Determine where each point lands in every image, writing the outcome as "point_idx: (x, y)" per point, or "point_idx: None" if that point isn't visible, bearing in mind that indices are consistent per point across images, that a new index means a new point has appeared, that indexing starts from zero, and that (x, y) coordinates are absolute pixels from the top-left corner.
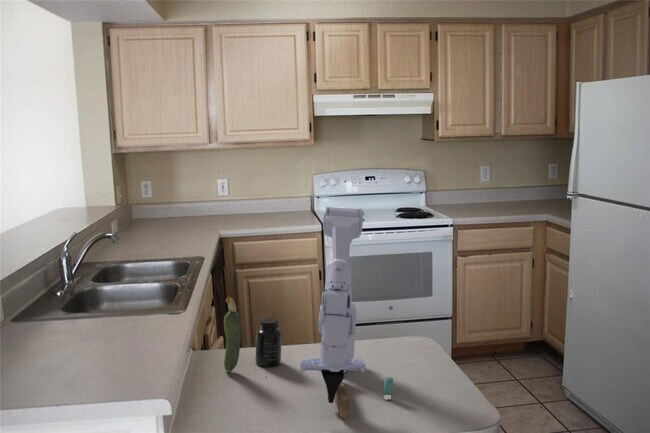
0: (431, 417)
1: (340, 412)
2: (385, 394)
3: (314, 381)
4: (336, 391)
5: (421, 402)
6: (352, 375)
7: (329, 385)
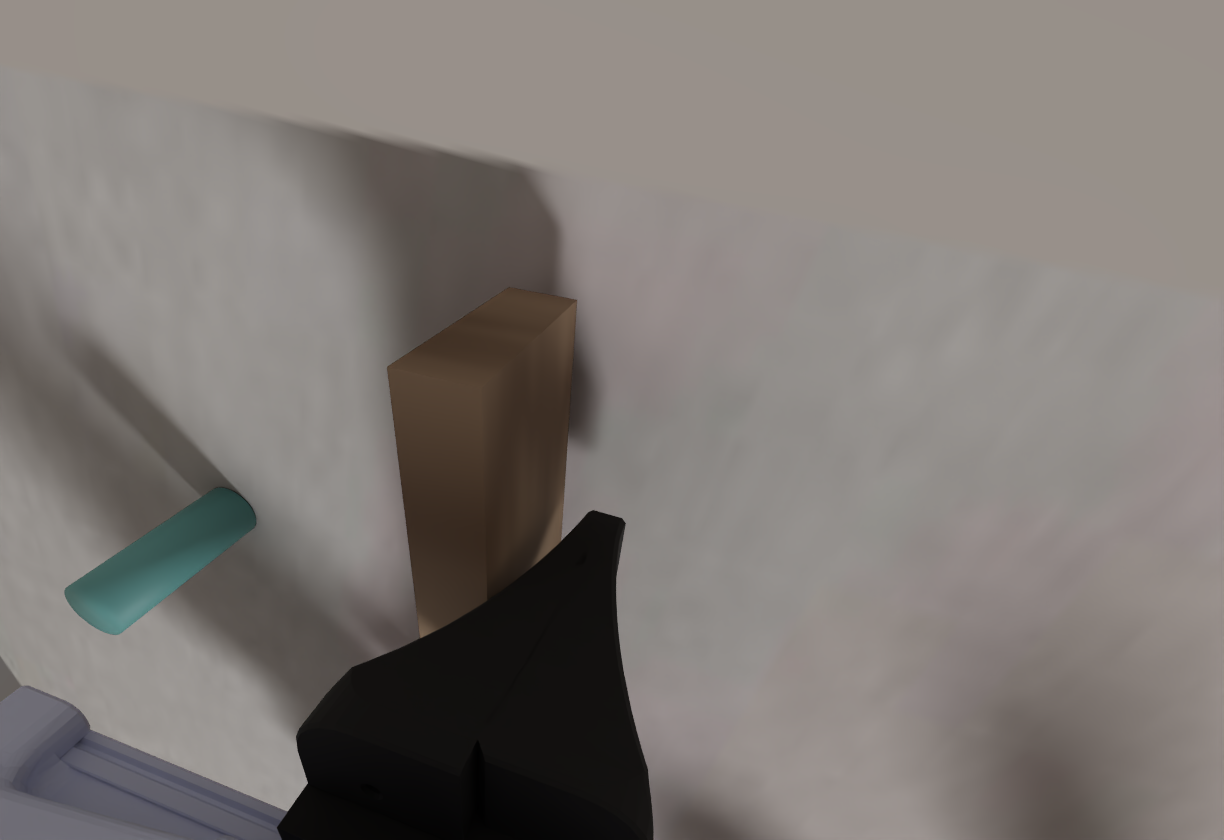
0: None
1: (562, 341)
2: (212, 524)
3: None
4: None
5: (50, 416)
6: None
7: (580, 655)
